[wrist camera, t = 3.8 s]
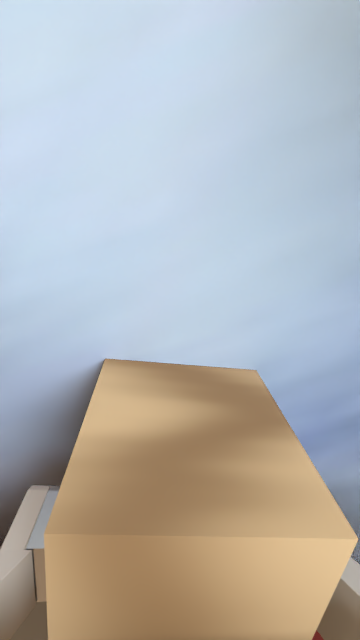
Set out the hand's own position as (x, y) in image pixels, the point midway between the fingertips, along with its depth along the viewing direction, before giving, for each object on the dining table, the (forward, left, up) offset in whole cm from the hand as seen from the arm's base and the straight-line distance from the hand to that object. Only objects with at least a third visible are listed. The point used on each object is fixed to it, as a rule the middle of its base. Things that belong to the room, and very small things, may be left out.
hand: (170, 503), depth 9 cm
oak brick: (0, 0, -2) cm, 2 cm away
